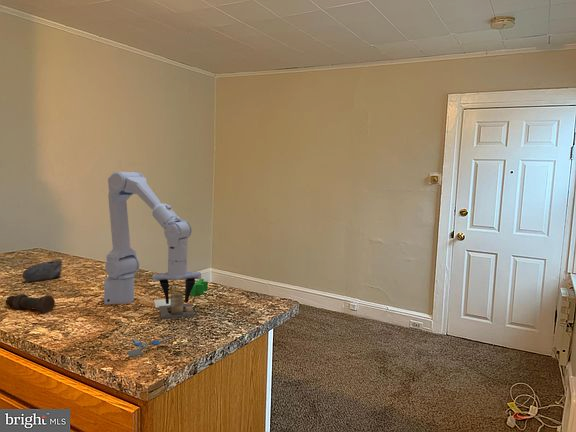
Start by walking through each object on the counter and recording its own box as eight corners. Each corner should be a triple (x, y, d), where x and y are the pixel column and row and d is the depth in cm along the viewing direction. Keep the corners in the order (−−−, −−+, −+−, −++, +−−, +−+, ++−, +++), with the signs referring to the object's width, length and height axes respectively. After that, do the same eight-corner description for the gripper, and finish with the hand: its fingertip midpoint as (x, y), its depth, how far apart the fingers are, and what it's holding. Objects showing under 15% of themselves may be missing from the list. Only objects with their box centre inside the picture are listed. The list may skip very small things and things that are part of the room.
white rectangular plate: (155, 309, 136) (155, 307, 136) (153, 302, 144) (153, 300, 144) (174, 308, 138) (174, 306, 138) (172, 301, 146) (172, 298, 146)
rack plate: (161, 321, 126) (161, 316, 126) (158, 310, 136) (159, 305, 135) (195, 318, 130) (195, 313, 130) (190, 308, 139) (190, 303, 139)
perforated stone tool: (25, 284, 158) (24, 266, 157) (19, 281, 161) (19, 264, 161) (66, 277, 170) (66, 261, 169) (60, 275, 173) (60, 258, 172)
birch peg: (171, 316, 131) (171, 297, 130) (170, 312, 134) (170, 294, 133) (183, 315, 132) (183, 297, 131) (181, 312, 135) (182, 293, 135)
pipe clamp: (200, 299, 150) (200, 287, 149) (190, 298, 150) (190, 286, 150) (209, 290, 161) (210, 279, 160) (200, 290, 161) (200, 278, 161)
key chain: (136, 359, 101) (136, 356, 101) (109, 353, 104) (109, 349, 104) (171, 339, 114) (172, 336, 114) (147, 333, 117) (147, 331, 117)
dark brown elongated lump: (12, 311, 135) (50, 315, 131) (-1, 307, 130) (38, 312, 126) (19, 293, 137) (57, 297, 133) (6, 289, 132) (45, 293, 129)
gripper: (154, 263, 125) (153, 308, 126) (203, 261, 130) (202, 304, 131) (152, 258, 131) (152, 301, 133) (199, 257, 136) (198, 298, 138)
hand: (176, 302), depth 132 cm, fingers open, 5 cm apart
